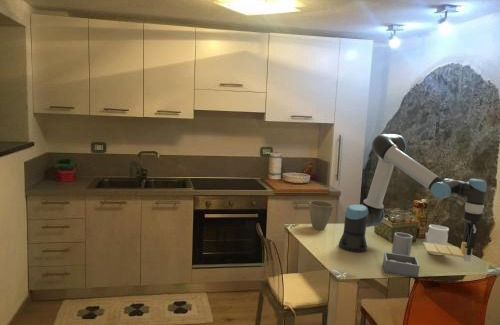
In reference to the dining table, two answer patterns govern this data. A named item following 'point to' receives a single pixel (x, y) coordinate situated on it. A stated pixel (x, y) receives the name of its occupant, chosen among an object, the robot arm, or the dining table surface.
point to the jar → (437, 235)
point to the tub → (401, 265)
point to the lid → (445, 249)
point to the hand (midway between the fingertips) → (466, 259)
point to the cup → (402, 244)
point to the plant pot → (320, 213)
